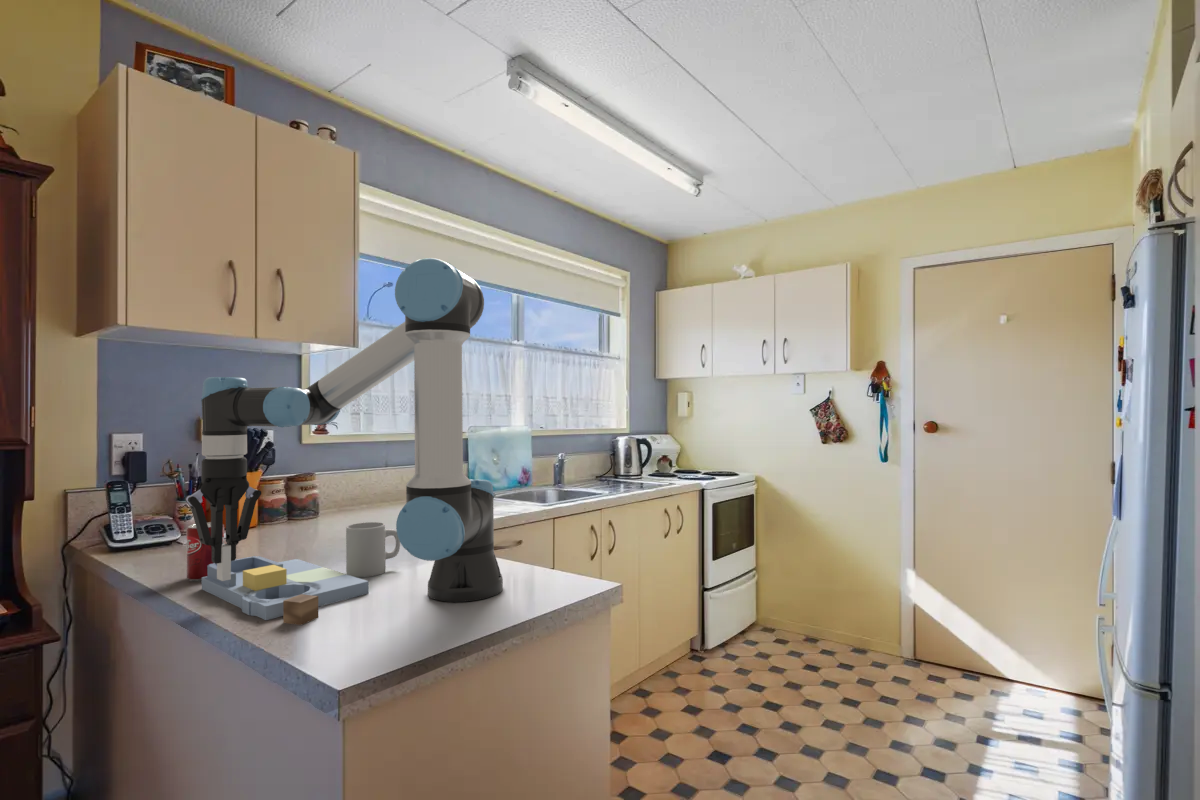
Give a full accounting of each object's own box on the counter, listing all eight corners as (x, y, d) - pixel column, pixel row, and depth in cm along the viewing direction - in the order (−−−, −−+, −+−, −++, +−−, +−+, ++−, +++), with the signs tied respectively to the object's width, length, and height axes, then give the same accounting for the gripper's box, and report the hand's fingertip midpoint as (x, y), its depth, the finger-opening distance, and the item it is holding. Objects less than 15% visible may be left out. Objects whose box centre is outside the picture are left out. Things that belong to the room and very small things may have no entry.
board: (368, 593, 126) (368, 569, 126) (261, 621, 110) (261, 593, 110) (296, 569, 146) (296, 548, 146) (197, 590, 130) (197, 566, 130)
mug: (350, 580, 136) (349, 530, 137) (343, 571, 144) (342, 524, 144) (404, 571, 143) (404, 524, 143) (395, 564, 150) (395, 519, 150)
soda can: (188, 583, 135) (188, 529, 135) (184, 577, 141) (184, 524, 141) (226, 577, 140) (226, 524, 140) (221, 571, 145) (221, 520, 146)
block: (286, 583, 125) (286, 569, 125) (255, 590, 120) (255, 575, 120) (273, 579, 129) (273, 564, 129) (242, 585, 124) (242, 570, 124)
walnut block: (318, 618, 112) (318, 596, 112) (301, 625, 108) (300, 602, 108) (301, 616, 113) (301, 594, 113) (283, 623, 109) (283, 600, 109)
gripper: (252, 454, 126) (251, 568, 126) (179, 458, 116) (177, 582, 116) (268, 455, 122) (267, 575, 121) (192, 460, 112) (191, 590, 111)
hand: (223, 578), depth 119 cm, fingers closed
